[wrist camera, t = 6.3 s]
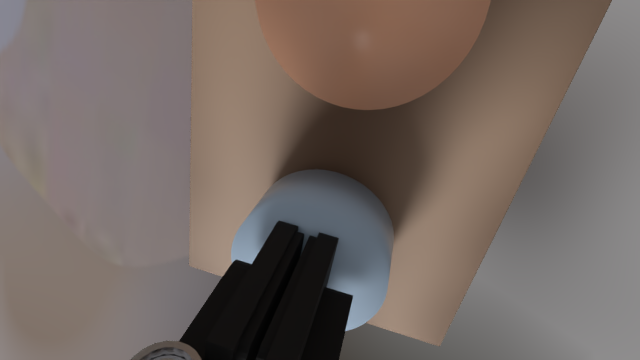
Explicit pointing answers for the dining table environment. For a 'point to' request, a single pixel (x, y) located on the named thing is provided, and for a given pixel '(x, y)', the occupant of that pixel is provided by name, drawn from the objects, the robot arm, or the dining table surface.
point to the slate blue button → (329, 232)
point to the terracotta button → (370, 46)
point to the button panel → (384, 144)
